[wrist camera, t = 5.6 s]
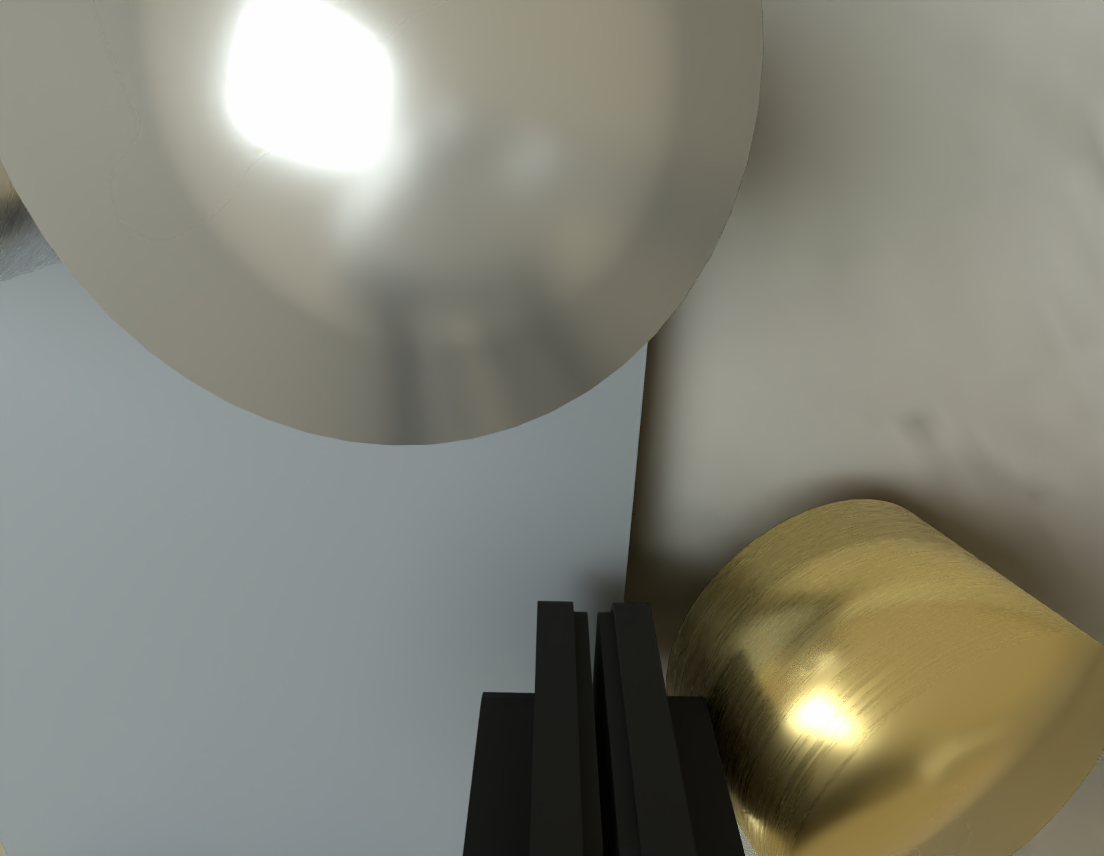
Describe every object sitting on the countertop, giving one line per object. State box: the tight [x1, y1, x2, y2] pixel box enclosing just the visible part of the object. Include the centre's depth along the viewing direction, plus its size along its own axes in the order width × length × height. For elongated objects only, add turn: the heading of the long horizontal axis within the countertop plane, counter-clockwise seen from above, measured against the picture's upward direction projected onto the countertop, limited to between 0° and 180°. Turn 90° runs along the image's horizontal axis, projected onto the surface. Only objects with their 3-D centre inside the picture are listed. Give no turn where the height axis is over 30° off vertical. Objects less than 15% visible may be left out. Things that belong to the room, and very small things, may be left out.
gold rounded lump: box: [666, 499, 1104, 856], centre depth 10 cm, size 5×5×3 cm
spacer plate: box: [0, 262, 648, 856], centre depth 12 cm, size 12×20×1 cm, turn 178°
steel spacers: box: [0, 0, 763, 446], centre depth 9 cm, size 11×19×6 cm, turn 178°
